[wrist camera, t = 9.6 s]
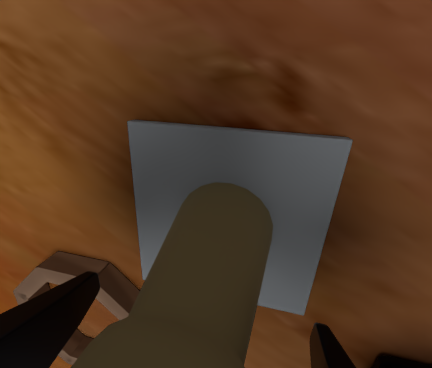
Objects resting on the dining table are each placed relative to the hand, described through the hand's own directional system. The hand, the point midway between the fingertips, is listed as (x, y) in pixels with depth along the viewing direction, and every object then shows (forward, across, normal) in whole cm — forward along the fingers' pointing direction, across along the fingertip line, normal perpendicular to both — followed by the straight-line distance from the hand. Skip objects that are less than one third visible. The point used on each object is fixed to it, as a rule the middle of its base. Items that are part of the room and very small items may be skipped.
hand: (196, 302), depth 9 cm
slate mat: (+6, 0, 0) cm, 6 cm away
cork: (+6, 0, 0) cm, 6 cm away
